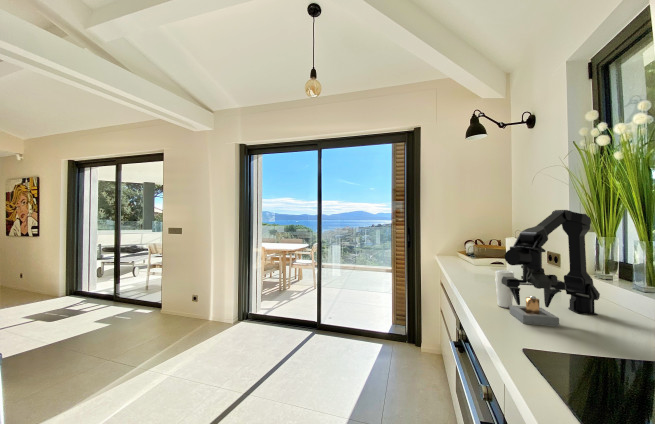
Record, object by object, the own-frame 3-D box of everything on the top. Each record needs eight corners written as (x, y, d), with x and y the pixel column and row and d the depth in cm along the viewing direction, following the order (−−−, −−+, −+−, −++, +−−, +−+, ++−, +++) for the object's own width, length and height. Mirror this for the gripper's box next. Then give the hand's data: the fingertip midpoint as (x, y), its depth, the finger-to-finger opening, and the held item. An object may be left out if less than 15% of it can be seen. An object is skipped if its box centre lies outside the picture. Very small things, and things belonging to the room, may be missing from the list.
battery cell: (536, 316, 101) (535, 295, 101) (541, 320, 97) (541, 298, 97) (523, 315, 102) (523, 294, 102) (529, 319, 98) (529, 297, 98)
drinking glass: (517, 309, 110) (517, 273, 110) (499, 308, 111) (499, 272, 111) (509, 304, 116) (509, 270, 117) (492, 303, 118) (492, 269, 118)
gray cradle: (541, 315, 103) (541, 307, 103) (559, 326, 93) (559, 317, 93) (509, 312, 106) (509, 305, 106) (523, 323, 95) (523, 315, 95)
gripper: (513, 266, 94) (514, 311, 94) (576, 269, 90) (576, 316, 89) (500, 261, 105) (501, 301, 104) (556, 264, 101) (556, 305, 100)
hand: (532, 306), depth 99 cm, fingers open, 9 cm apart
